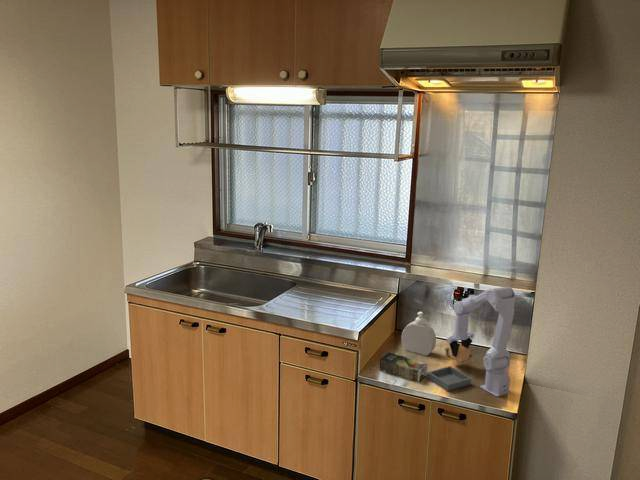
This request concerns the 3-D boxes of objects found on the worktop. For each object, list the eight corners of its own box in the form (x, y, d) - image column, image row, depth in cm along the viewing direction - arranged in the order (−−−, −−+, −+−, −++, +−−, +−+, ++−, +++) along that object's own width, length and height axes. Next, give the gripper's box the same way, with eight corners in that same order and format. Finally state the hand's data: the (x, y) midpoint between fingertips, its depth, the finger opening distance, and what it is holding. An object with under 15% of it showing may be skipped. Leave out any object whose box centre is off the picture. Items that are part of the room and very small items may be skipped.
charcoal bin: (470, 384, 236) (471, 378, 235) (447, 391, 230) (448, 385, 229) (449, 372, 247) (450, 365, 246) (427, 378, 240) (427, 372, 240)
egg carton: (453, 361, 259) (454, 352, 258) (442, 354, 265) (443, 346, 264) (470, 355, 264) (470, 347, 263) (458, 350, 270) (459, 342, 269)
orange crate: (469, 360, 250) (470, 349, 248) (460, 362, 247) (461, 352, 246) (456, 353, 256) (457, 343, 255) (448, 355, 254) (449, 345, 253)
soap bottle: (400, 349, 269) (402, 310, 265) (404, 345, 274) (406, 307, 269) (431, 357, 261) (434, 317, 256) (435, 353, 265) (438, 314, 261)
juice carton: (429, 374, 245) (430, 361, 243) (420, 383, 237) (421, 370, 235) (388, 363, 255) (388, 351, 254) (378, 371, 247) (378, 359, 246)
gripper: (466, 320, 255) (464, 348, 258) (442, 326, 248) (440, 354, 251) (478, 326, 249) (475, 354, 252) (454, 331, 242) (451, 360, 245)
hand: (459, 354), depth 251 cm, fingers closed on orange crate, 5 cm apart
